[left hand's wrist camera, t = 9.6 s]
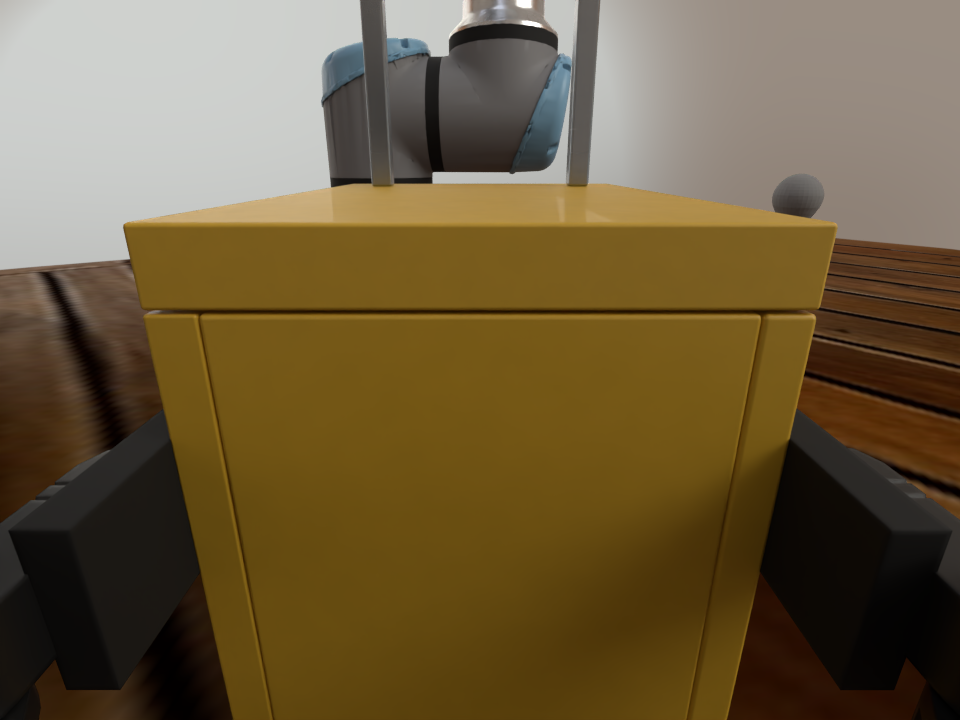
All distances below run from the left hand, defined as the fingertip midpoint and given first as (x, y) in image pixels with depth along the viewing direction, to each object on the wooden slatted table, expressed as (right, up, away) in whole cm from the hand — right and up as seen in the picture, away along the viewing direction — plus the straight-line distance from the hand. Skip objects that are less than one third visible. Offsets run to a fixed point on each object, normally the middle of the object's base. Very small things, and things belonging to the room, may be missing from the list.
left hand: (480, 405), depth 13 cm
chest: (0, -5, +5) cm, 7 cm away
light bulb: (+43, +16, +62) cm, 77 cm away
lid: (0, +4, +2) cm, 5 cm away
